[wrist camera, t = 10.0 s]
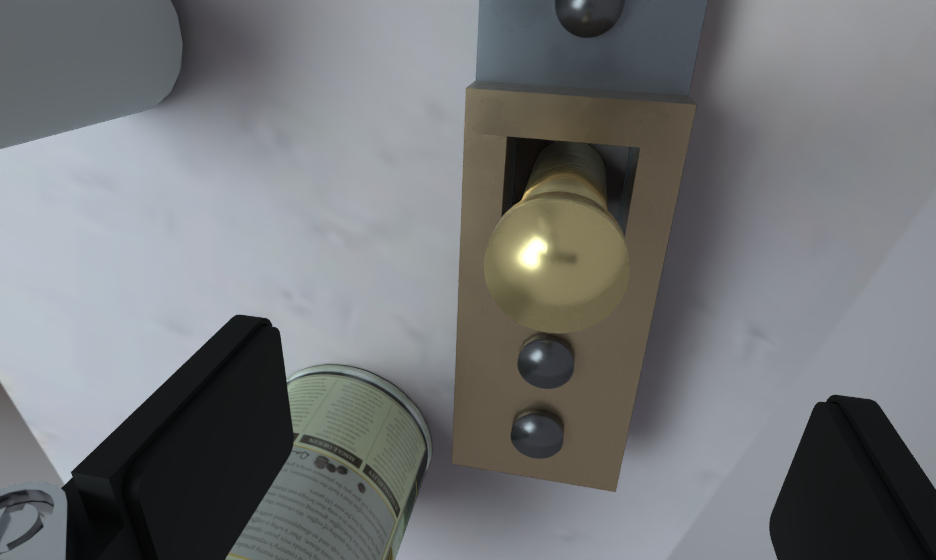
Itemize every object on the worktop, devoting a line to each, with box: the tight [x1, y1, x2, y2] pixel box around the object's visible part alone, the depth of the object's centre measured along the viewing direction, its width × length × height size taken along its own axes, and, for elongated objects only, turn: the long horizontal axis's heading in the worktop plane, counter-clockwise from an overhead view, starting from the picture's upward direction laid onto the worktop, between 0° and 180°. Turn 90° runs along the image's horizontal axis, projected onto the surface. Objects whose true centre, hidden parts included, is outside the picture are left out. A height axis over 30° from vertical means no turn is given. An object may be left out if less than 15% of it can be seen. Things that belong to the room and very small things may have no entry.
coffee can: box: [225, 365, 432, 560], centre depth 29 cm, size 10×10×14 cm
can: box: [0, 0, 183, 149], centre depth 22 cm, size 8×8×12 cm
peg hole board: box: [452, 0, 708, 492], centre depth 24 cm, size 28×8×5 cm, turn 178°
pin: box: [484, 141, 629, 333], centre depth 21 cm, size 4×4×10 cm
